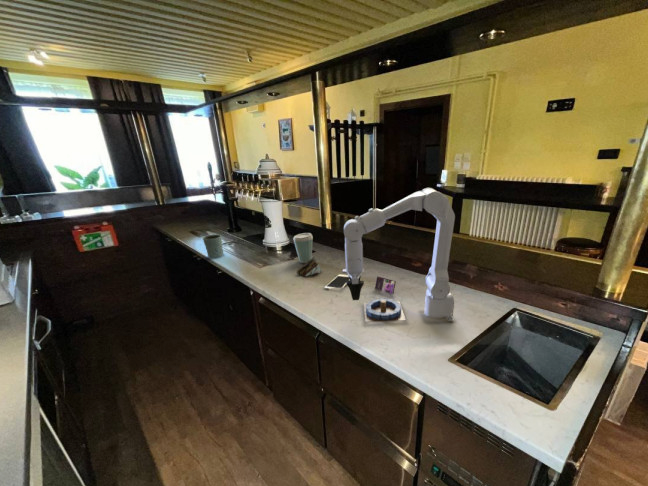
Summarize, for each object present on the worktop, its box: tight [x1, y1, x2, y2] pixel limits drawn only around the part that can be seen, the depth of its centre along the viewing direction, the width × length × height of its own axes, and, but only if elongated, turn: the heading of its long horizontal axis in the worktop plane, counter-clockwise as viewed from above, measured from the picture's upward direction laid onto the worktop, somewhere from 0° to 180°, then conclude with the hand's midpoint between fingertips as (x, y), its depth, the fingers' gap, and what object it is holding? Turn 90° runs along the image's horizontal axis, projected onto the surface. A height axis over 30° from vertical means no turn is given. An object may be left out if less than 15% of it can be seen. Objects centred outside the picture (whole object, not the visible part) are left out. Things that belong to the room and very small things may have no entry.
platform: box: [363, 300, 406, 323], centre depth 110 cm, size 14×14×6 cm
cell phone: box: [324, 273, 350, 290], centre depth 138 cm, size 8×16×1 cm, turn 158°
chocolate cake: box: [295, 256, 322, 278], centre depth 150 cm, size 10×7×12 cm
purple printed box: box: [374, 276, 397, 295], centre depth 126 cm, size 7×5×9 cm
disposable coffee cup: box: [293, 232, 314, 264], centre depth 164 cm, size 11×11×15 cm
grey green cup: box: [202, 234, 224, 259], centre depth 180 cm, size 10×10×12 cm
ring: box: [366, 298, 402, 320], centre depth 110 cm, size 13×13×2 cm
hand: (355, 294), depth 104 cm, fingers open, 7 cm apart
